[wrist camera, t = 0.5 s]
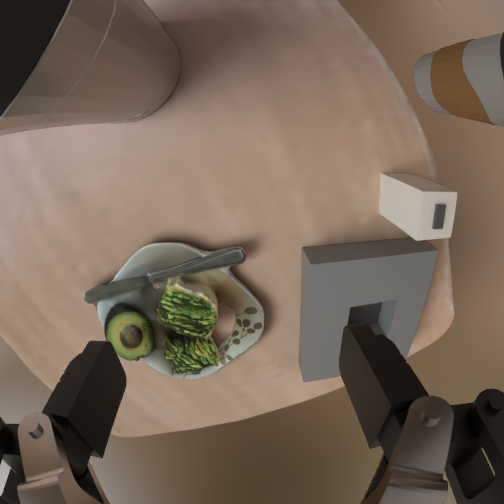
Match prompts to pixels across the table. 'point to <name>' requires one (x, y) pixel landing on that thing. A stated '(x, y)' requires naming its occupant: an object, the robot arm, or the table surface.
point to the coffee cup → (465, 79)
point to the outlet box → (360, 296)
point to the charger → (417, 205)
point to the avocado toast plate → (178, 309)
